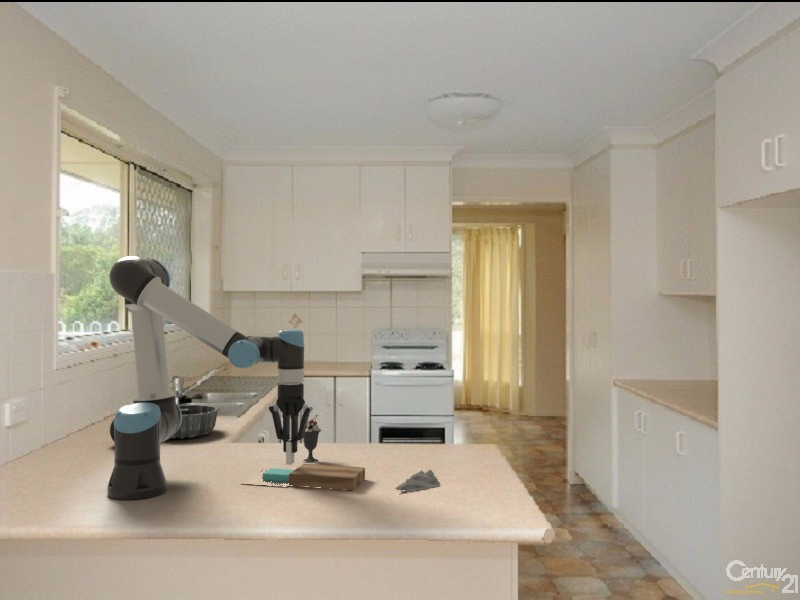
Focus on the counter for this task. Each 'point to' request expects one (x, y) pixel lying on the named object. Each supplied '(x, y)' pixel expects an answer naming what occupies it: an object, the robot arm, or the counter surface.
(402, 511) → the counter surface
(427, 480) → the cloth
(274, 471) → the rectangular block
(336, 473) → the brown wooden slab
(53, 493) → the counter surface
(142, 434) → the robot arm
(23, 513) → the counter surface
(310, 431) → the sundae
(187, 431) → the bundt pan
